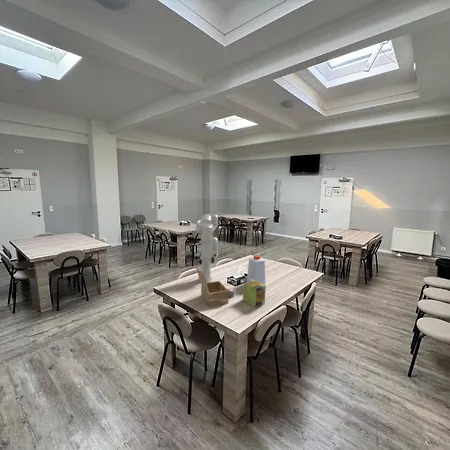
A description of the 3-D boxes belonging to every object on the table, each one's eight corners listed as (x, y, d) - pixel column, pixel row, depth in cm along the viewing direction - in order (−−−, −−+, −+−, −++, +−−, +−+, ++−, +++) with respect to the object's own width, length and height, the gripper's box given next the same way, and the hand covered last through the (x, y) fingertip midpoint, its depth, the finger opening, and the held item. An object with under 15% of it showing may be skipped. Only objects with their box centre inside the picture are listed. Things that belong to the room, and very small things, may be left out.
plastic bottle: (258, 280, 235) (260, 252, 231) (267, 286, 222) (268, 257, 217) (245, 282, 229) (246, 254, 225) (252, 288, 216) (254, 258, 211)
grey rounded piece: (225, 294, 203) (225, 289, 202) (232, 293, 206) (232, 288, 205) (228, 298, 197) (228, 292, 196) (235, 296, 200) (235, 291, 199)
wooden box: (201, 295, 200) (201, 283, 199) (219, 292, 207) (219, 280, 205) (209, 306, 182) (209, 293, 181) (228, 303, 189) (228, 290, 187)
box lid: (201, 283, 199) (200, 283, 199) (196, 266, 195) (195, 266, 194) (209, 293, 181) (208, 293, 180) (204, 274, 177) (203, 274, 176)
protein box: (255, 307, 183) (256, 288, 180) (242, 299, 195) (243, 281, 192) (265, 303, 189) (266, 285, 186) (251, 296, 201) (252, 278, 198)
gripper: (215, 239, 189) (215, 260, 191) (194, 241, 181) (194, 263, 184) (219, 241, 182) (218, 263, 185) (197, 243, 175) (197, 266, 177)
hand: (206, 263), depth 184 cm, fingers open, 9 cm apart
